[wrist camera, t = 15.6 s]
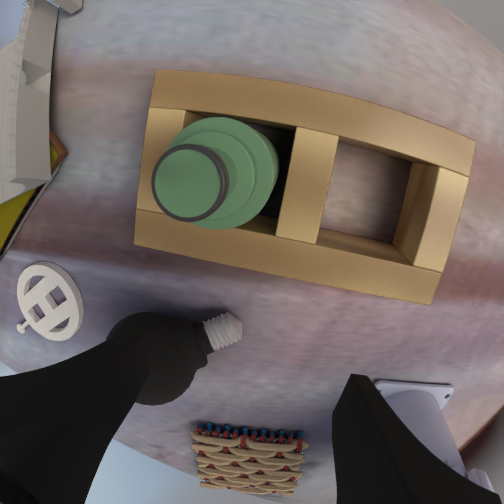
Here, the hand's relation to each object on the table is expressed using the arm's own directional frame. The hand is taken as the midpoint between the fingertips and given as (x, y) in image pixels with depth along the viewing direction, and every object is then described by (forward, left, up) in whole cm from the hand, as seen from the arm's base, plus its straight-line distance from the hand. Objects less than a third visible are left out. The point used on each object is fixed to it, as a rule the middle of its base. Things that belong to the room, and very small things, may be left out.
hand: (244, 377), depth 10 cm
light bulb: (-6, +6, -11) cm, 13 cm away
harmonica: (+1, +21, -8) cm, 22 cm away
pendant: (-8, +19, -9) cm, 22 cm away
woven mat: (-20, -2, -8) cm, 22 cm away
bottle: (+6, +3, -10) cm, 12 cm away
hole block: (+6, -1, -10) cm, 12 cm away
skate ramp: (+9, +21, -9) cm, 24 cm away
